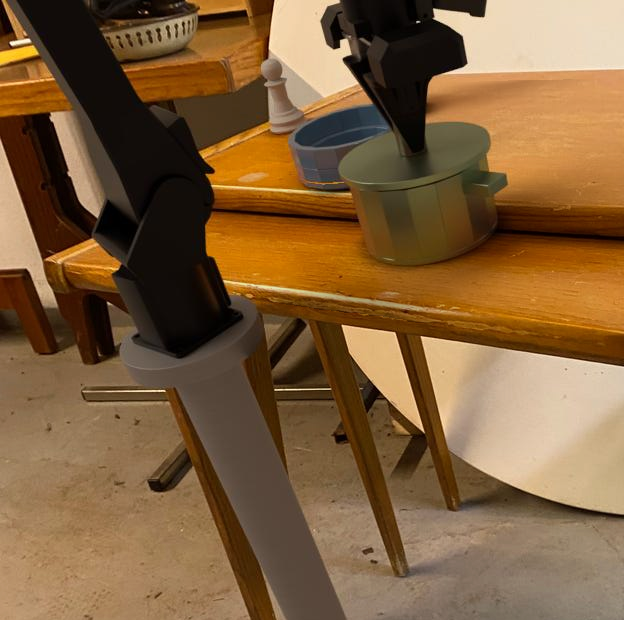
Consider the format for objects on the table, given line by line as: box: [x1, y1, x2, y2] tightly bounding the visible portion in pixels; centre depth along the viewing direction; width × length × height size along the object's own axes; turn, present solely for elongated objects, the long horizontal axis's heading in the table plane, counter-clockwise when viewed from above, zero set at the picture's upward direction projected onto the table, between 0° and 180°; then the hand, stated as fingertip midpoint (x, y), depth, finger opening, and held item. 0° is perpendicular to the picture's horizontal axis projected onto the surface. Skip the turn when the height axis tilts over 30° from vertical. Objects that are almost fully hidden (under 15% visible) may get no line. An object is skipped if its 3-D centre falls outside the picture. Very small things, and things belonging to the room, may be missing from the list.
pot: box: [349, 154, 509, 267], centre depth 78 cm, size 12×17×6 cm
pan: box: [287, 103, 392, 191], centre depth 94 cm, size 12×12×4 cm
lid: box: [338, 121, 492, 191], centre depth 74 cm, size 13×13×5 cm
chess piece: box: [260, 58, 309, 135], centre depth 109 cm, size 5×5×8 cm
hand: (412, 147), depth 75 cm, fingers closed on lid, 2 cm apart
